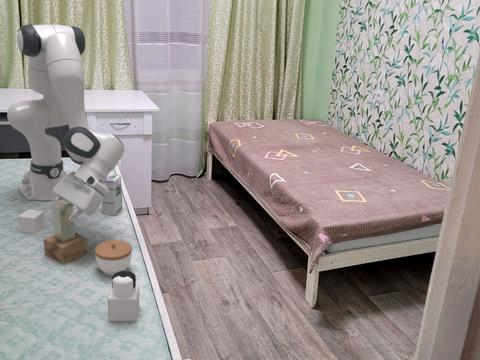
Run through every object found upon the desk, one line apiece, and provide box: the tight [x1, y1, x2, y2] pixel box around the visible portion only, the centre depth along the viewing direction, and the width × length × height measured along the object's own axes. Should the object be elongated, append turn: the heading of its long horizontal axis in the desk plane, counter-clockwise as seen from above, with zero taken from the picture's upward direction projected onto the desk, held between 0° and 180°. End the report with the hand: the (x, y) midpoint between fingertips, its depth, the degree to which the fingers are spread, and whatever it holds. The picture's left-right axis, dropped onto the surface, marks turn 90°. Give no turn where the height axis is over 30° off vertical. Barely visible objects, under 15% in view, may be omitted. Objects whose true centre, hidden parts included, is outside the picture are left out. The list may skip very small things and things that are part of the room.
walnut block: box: [43, 232, 88, 265], centre depth 156 cm, size 9×9×6 cm
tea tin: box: [50, 199, 76, 242], centre depth 153 cm, size 5×5×12 cm
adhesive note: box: [17, 208, 46, 235], centre depth 171 cm, size 6×6×6 cm
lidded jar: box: [94, 239, 133, 277], centre depth 149 cm, size 11×11×9 cm
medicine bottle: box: [107, 270, 140, 322], centre depth 129 cm, size 7×7×12 cm
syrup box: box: [101, 173, 123, 216], centre depth 186 cm, size 6×6×14 cm
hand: (61, 215), depth 152 cm, fingers open, 8 cm apart
